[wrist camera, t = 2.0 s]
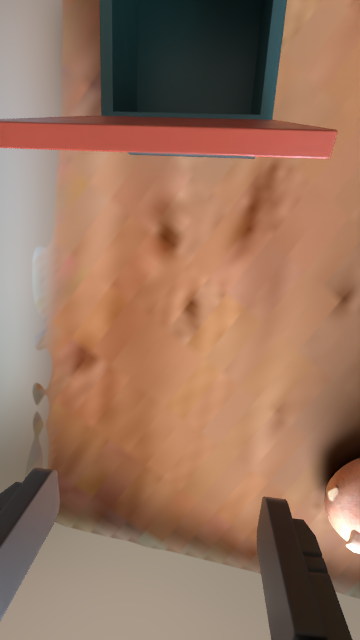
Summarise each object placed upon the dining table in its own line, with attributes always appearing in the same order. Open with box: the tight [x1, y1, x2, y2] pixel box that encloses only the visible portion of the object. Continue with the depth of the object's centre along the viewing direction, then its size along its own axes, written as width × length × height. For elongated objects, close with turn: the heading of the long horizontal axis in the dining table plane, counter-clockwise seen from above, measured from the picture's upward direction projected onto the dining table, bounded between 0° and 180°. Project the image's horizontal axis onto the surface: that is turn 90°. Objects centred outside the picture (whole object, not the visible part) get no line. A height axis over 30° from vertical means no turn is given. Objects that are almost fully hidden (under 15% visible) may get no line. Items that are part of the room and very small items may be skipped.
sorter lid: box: [0, 116, 337, 159], centre depth 17 cm, size 15×14×1 cm
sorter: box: [100, 0, 287, 159], centre depth 26 cm, size 14×14×9 cm
